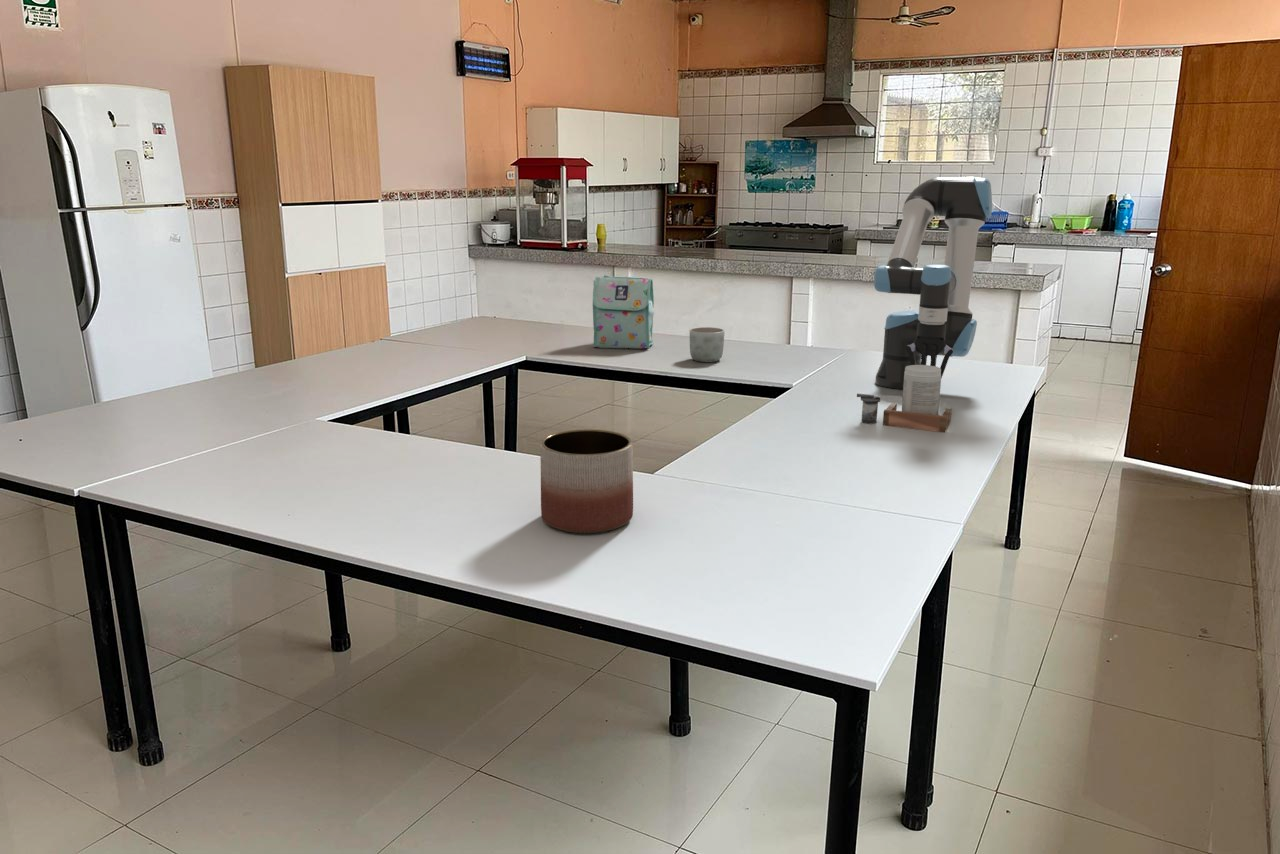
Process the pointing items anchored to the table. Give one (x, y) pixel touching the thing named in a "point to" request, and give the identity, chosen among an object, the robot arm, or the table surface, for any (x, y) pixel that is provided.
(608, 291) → the lunch bag
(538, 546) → the table surface
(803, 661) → the table surface
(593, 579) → the table surface
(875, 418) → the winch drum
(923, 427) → the bay
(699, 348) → the planter
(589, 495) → the planter
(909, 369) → the supplement tub
